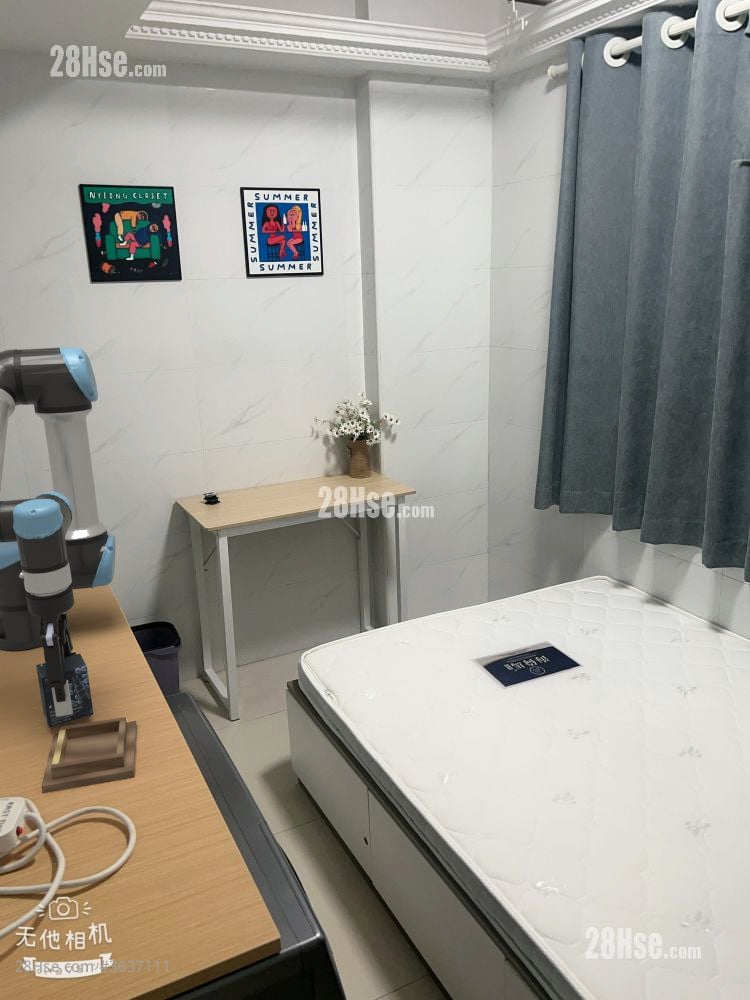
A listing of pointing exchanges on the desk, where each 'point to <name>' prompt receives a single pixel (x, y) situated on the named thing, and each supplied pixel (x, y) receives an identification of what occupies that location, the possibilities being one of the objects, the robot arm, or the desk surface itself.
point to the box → (77, 688)
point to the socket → (91, 754)
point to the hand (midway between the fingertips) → (66, 702)
